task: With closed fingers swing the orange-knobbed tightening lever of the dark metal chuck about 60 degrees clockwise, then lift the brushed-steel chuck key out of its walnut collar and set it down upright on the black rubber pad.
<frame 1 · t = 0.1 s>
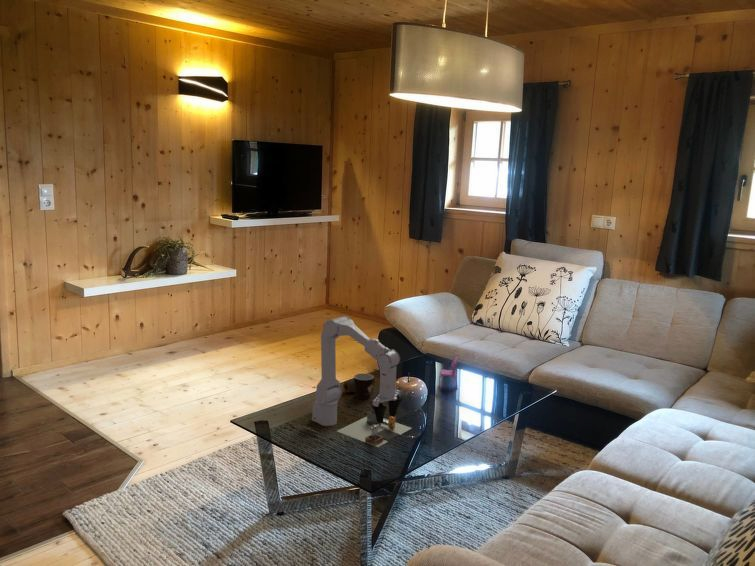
hand: (386, 419, 224), 10 cm above the table, fingers open, 7 cm apart
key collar: (374, 439, 227), on the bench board, point 1 cm above the table
rubber pad: (386, 435, 232), resting on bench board
lever: (388, 420, 239), point 4 cm above the table, hinge at 0.0°
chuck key: (374, 433, 226), in the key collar, point 4 cm above the table, touching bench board
coffee mug: (365, 398, 271), on the table
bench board: (374, 431, 237), on the table
stone weight: (358, 391, 279), on the table
toy chair: (448, 387, 288), on the table
chuck: (374, 415, 242), on the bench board, point 4 cm above the table
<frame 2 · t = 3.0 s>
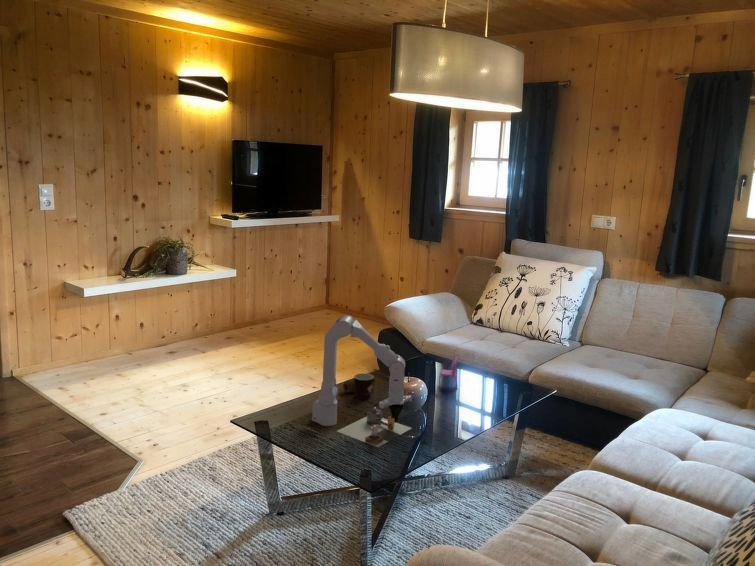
hand: (394, 421, 238), 3 cm above the table, fingers closed
lever: (387, 421, 238), point 4 cm above the table, hinge at 3.9°, touching gripper
everything else where it was.
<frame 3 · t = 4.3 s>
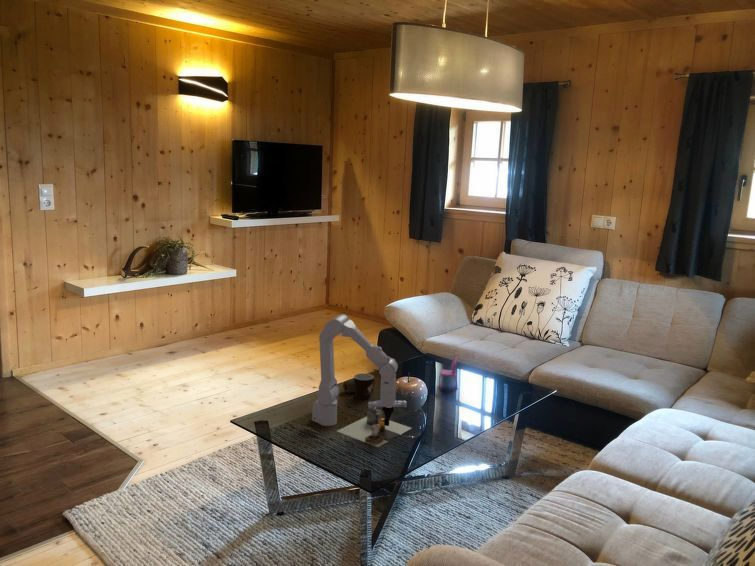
hand: (386, 424, 235), 4 cm above the table, fingers closed, pressing on lever
lever: (380, 422, 236), point 4 cm above the table, hinge at 33.0°, touching gripper
everything else where it was.
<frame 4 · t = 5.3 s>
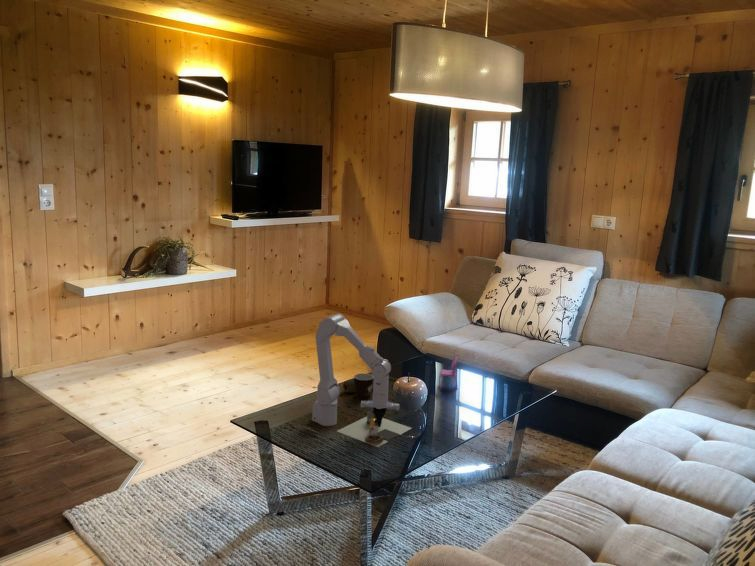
hand: (379, 426, 234), 3 cm above the table, fingers closed
lever: (373, 422, 236), point 4 cm above the table, hinge at 55.7°, touching gripper
everything else where it was.
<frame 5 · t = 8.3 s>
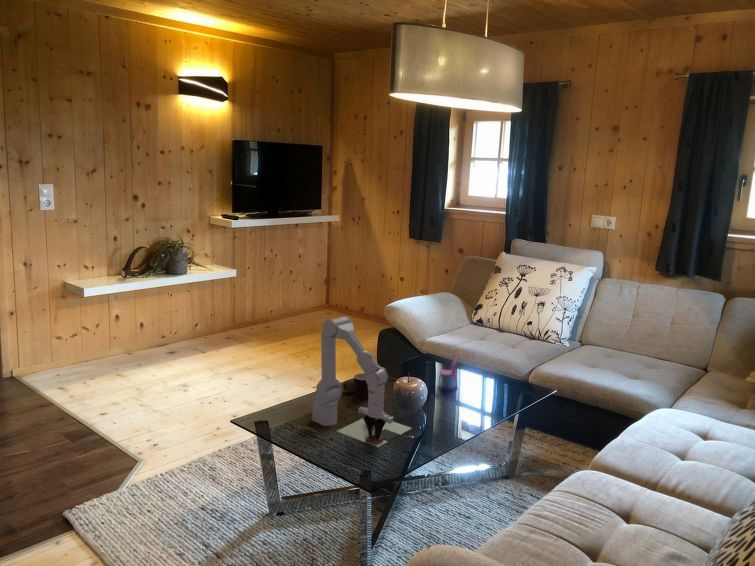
hand: (374, 436, 227), 3 cm above the table, fingers closed on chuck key, 2 cm apart
lever: (373, 422, 236), point 4 cm above the table, hinge at 56.8°
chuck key: (374, 433, 226), in the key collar, point 4 cm above the table, touching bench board, gripper
everything else where it was.
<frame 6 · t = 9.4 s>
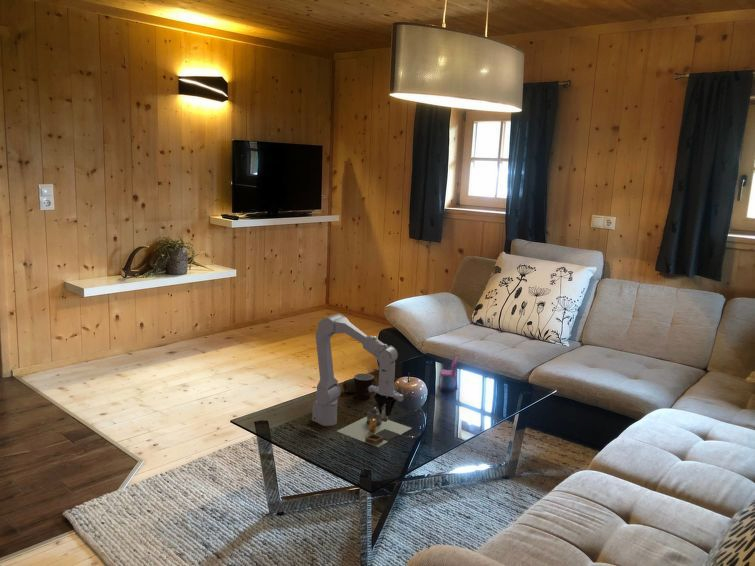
hand: (385, 414, 229), 10 cm above the table, fingers closed on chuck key, 2 cm apart
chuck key: (384, 412, 229), point 10 cm above the table, touching gripper
everything else where it was.
when the fingers open (4 cm above the table, at t = 10.8 s): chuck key stays where it is, resting on rubber pad.
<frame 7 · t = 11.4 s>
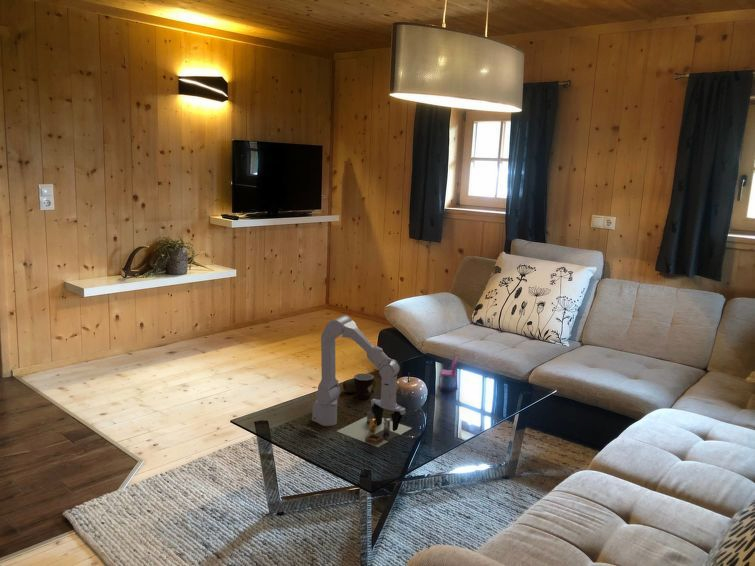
hand: (387, 427, 231), 4 cm above the table, fingers open, 7 cm apart
lever: (373, 422, 236), point 4 cm above the table, hinge at 56.8°, touching gripper
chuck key: (386, 427, 231), on the rubber pad, point 4 cm above the table
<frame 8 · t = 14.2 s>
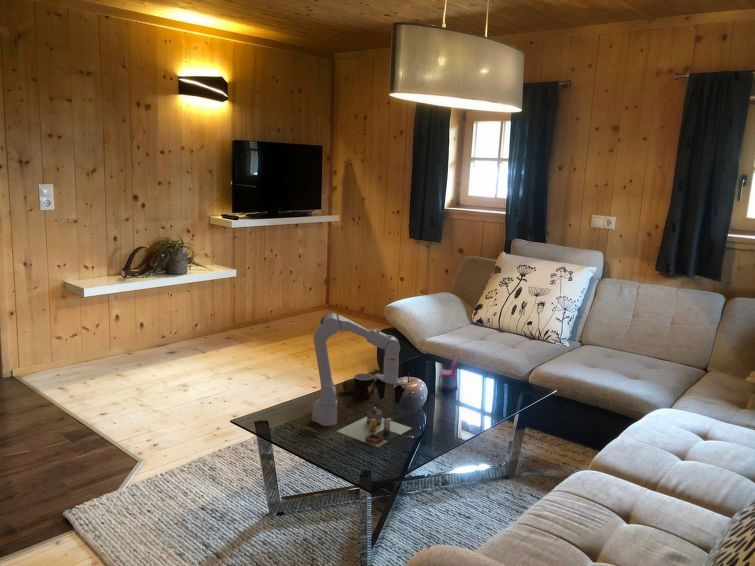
hand: (389, 400, 242), 10 cm above the table, fingers open, 7 cm apart
lever: (373, 422, 236), point 4 cm above the table, hinge at 56.9°
at the end: lever at +57° (first picture: +0°); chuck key inside the target area on the rubber pad (0.2 cm from its centre), point 3.4 cm above the rubber pad's base; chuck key tilted 0° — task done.
